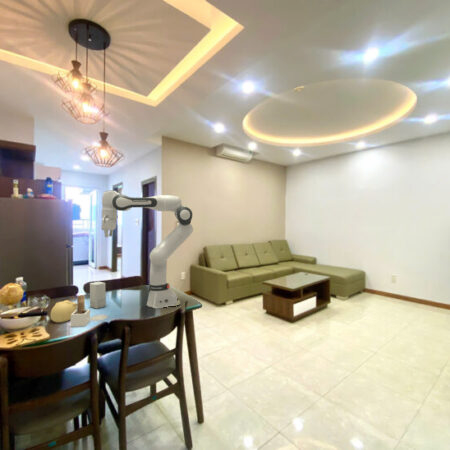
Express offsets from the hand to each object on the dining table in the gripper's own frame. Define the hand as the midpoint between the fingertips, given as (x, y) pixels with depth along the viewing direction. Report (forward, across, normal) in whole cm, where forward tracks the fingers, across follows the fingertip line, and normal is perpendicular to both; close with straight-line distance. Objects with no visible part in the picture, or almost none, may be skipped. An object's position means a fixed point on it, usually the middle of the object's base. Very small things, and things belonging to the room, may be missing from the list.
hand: (108, 236), depth 156 cm
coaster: (+46, -19, -1) cm, 50 cm away
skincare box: (+46, +2, +6) cm, 47 cm away
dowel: (+45, -26, +6) cm, 53 cm away
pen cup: (+46, -26, +6) cm, 53 cm away
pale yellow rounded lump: (+46, -18, +18) cm, 53 cm away
